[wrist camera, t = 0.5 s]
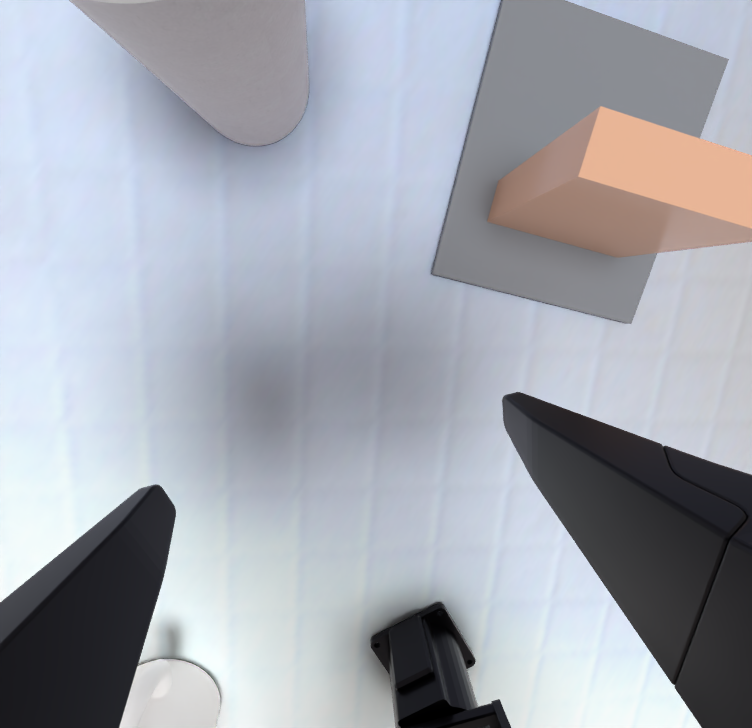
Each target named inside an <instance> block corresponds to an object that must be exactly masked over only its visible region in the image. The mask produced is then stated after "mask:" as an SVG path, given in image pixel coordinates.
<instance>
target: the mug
mask: <svg viewBox="0 0 752 728" xmlns="http://www.w3.org/2000/svg"><path fill="white" fill-rule="evenodd" d="M219 711H220V695H219V691H218V688H217V686H216V684H215V682H214V681H213V679H212V678H211V677H210V676H209V675H208V674H207V673H206V672H205V671H204V670H203V669H201V668H200V667H198V666H196V665H194V664H192V663H189V662H186V661H182V660H176V659H158V660H154V661H151V662H147V663H145V664H142V665H140V666H138V667H137V669H136V673H135V676H134V680H133V683H132V686H131V690H130V693H129V696H128V700H127V703H126V707H125V710H124V713H123V717H122V720H121V723H120V727H119V728H216V724H217V720H218V716H219Z"/></svg>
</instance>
